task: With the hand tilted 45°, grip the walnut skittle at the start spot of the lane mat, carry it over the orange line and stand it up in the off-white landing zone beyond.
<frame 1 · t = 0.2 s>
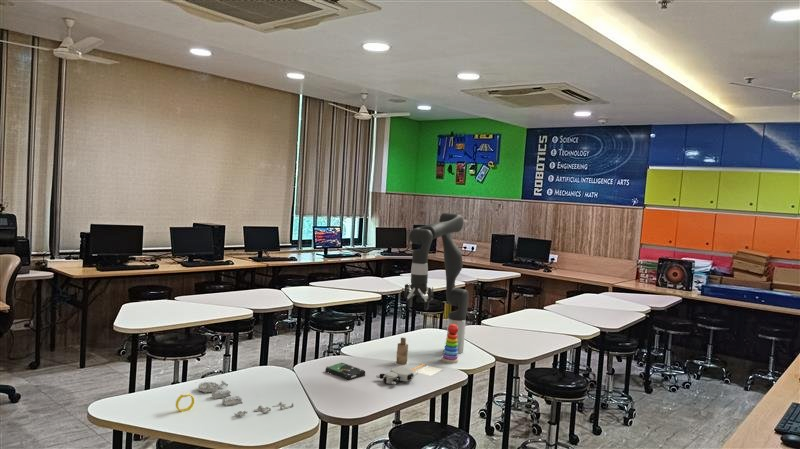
hand: (418, 308, 242), 29 cm above the table, tool pointing down, fingers open, 8 cm apart
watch: (184, 410, 184), on the table
disk drive: (345, 375, 234), on the table
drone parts: (244, 399, 199), on the table
lane mat: (413, 367, 248), on the table
robot toy: (396, 382, 229), on the table
stacking toy: (449, 362, 262), on the table
walnut skittle: (401, 363, 253), resting on lane mat
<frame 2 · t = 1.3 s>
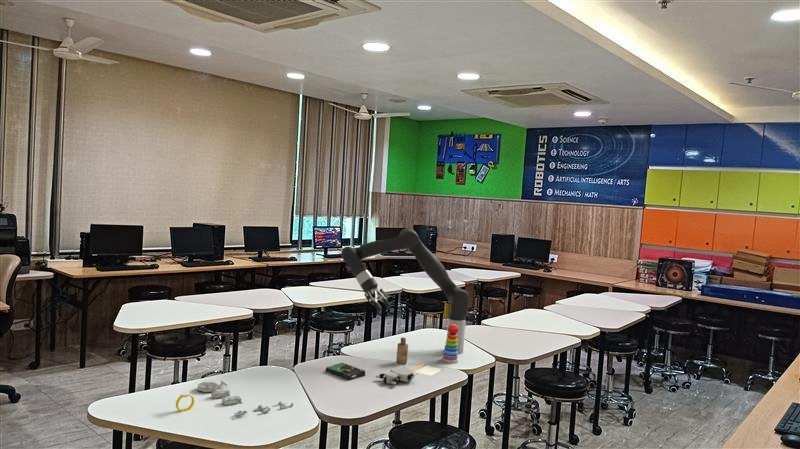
hand: (384, 308, 257), 25 cm above the table, tool tilted 45°, fingers open, 8 cm apart
nothing on the table moved.
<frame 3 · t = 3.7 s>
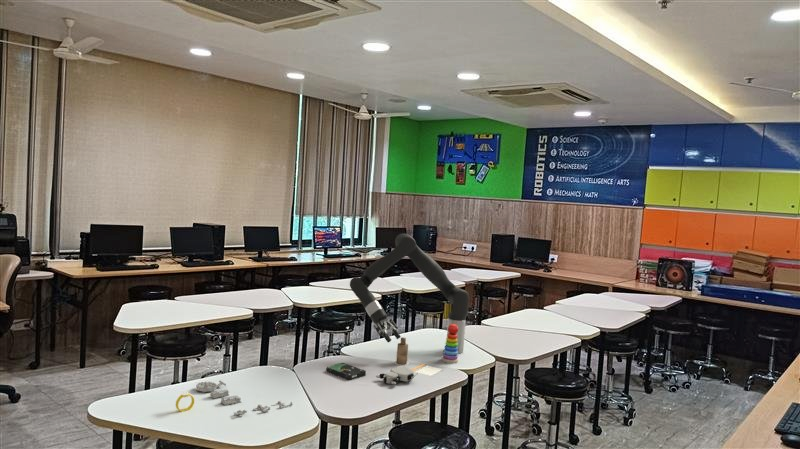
hand: (394, 339, 255), 11 cm above the table, tool tilted 45°, fingers open, 8 cm apart
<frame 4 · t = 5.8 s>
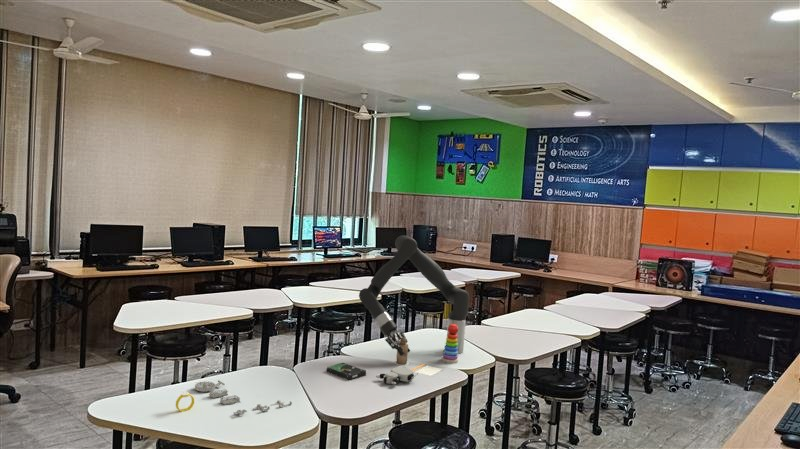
hand: (405, 353, 252), 6 cm above the table, tool tilted 45°, fingers closed on walnut skittle, 5 cm apart
walnut skittle: (401, 363, 253), point 1 cm above the table, touching gripper, lane mat
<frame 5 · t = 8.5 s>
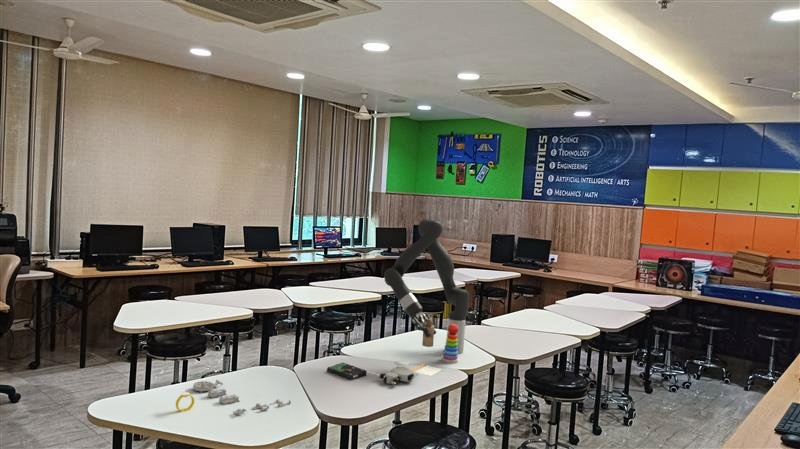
hand: (432, 335, 245), 17 cm above the table, tool tilted 45°, fingers closed on walnut skittle, 5 cm apart
walnut skittle: (427, 345, 246), point 12 cm above the table, touching gripper
when the fingers open (7 cm above the table, at t = 11.0 s): walnut skittle drops 1 cm, resting on lane mat.
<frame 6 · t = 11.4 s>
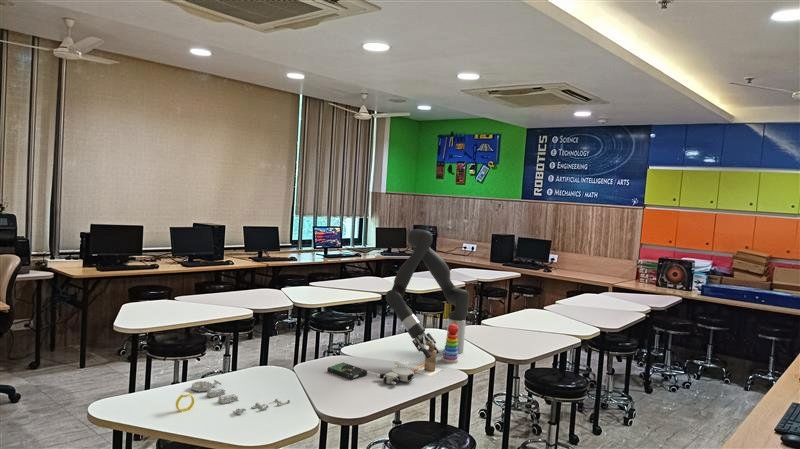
hand: (433, 355, 244), 8 cm above the table, tool tilted 45°, fingers open, 8 cm apart
walnut skittle: (429, 369, 245), point 1 cm above the table, touching lane mat
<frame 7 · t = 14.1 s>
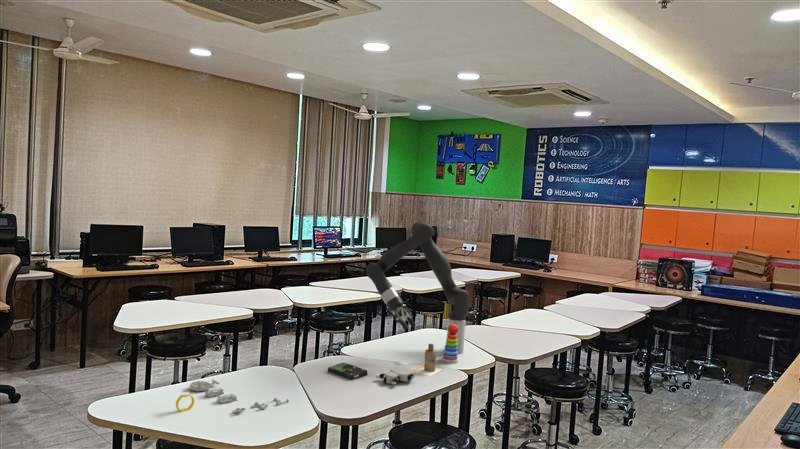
hand: (410, 327, 251), 18 cm above the table, tool tilted 45°, fingers open, 8 cm apart
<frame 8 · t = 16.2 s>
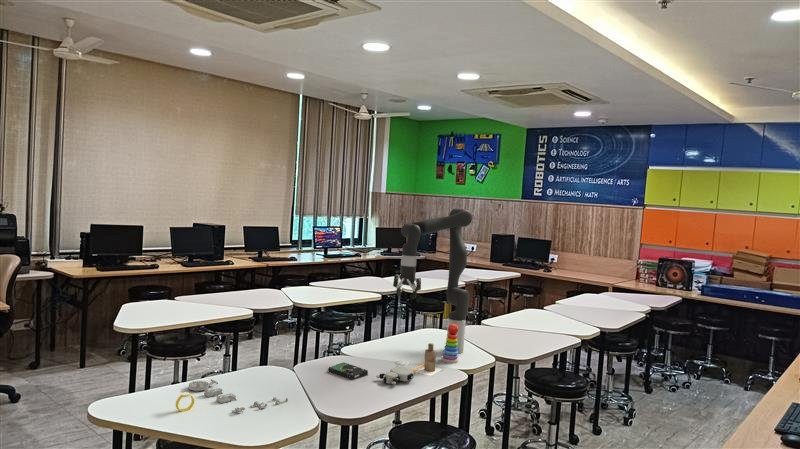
hand: (406, 297, 262), 30 cm above the table, tool pointing down, fingers open, 8 cm apart
at the end: walnut skittle inside the target area (0.6 cm from its centre), point 0.6 cm above the table; walnut skittle tilted 1°; the gripper is holding nothing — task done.
